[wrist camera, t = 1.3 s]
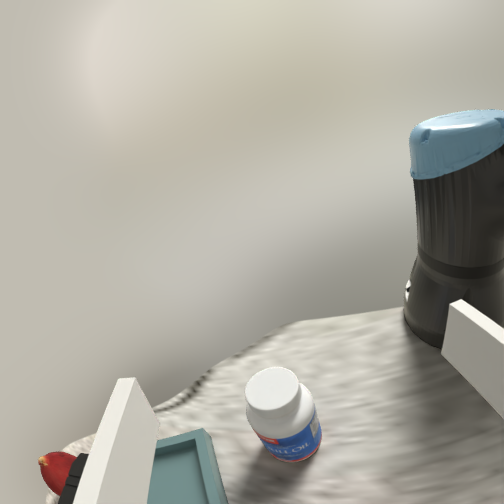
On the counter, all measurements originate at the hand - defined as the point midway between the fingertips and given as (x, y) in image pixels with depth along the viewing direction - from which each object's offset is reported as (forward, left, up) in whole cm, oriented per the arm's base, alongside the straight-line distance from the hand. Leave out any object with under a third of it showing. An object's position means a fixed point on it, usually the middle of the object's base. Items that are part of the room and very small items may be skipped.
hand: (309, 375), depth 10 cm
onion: (+27, -6, -18) cm, 33 cm away
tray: (+16, -4, -17) cm, 24 cm away
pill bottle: (+2, -6, -18) cm, 19 cm away
